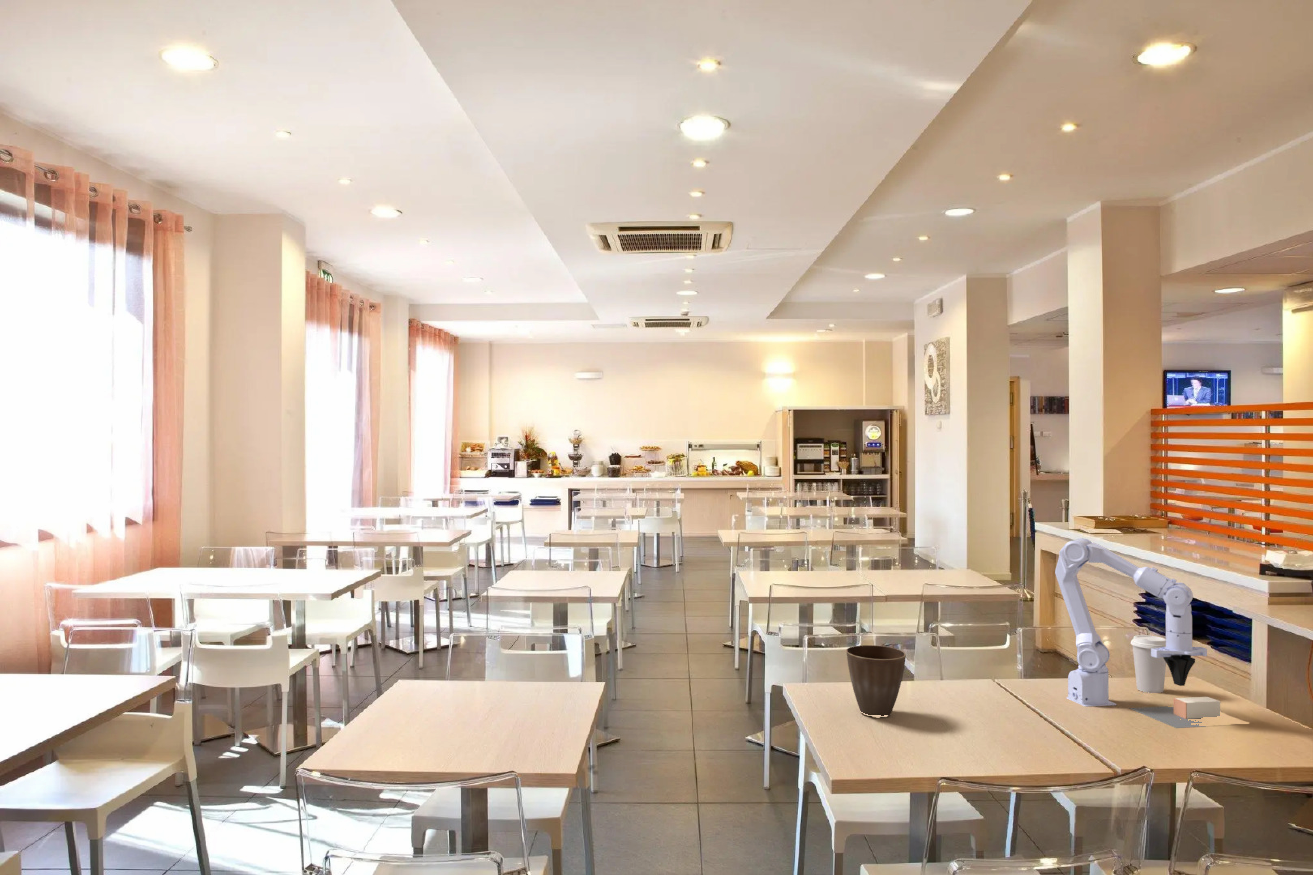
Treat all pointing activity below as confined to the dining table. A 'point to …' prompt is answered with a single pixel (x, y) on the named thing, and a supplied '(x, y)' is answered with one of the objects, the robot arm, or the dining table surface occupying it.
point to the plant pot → (876, 677)
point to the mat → (1167, 716)
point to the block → (1196, 707)
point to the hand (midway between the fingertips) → (1179, 684)
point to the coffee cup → (1148, 663)
